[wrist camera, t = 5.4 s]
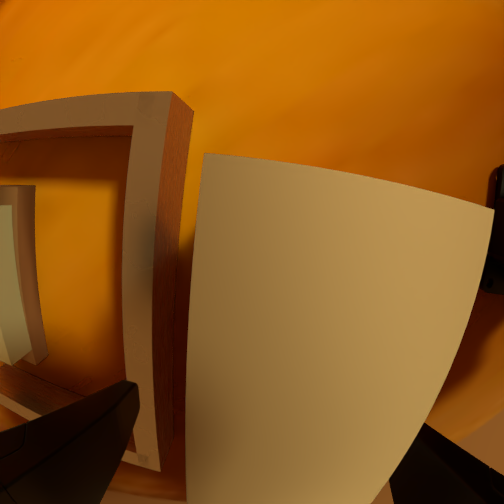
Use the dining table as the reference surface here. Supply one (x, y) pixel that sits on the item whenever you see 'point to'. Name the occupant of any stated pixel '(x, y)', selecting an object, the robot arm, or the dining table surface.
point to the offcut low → (26, 263)
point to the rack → (125, 250)
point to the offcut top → (10, 297)
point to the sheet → (318, 327)
